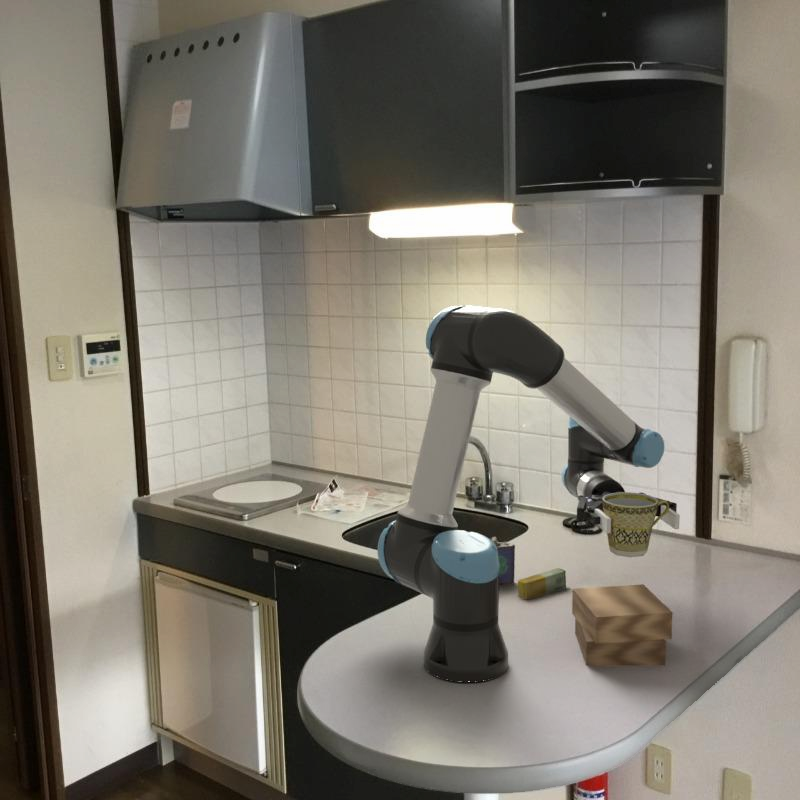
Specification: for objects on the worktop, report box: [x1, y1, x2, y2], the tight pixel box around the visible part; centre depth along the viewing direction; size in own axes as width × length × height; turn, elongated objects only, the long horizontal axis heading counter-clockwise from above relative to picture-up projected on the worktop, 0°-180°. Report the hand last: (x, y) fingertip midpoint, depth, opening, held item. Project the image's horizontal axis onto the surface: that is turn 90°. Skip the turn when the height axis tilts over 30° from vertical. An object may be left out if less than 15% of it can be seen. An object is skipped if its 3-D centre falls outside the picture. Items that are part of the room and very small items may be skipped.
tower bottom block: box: [574, 617, 667, 667], centre depth 181 cm, size 14×14×5 cm
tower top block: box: [571, 583, 674, 644], centre depth 180 cm, size 14×14×5 cm
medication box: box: [517, 567, 567, 601], centre depth 210 cm, size 12×3×4 cm, turn 125°
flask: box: [489, 536, 516, 586], centre depth 214 cm, size 9×3×11 cm, turn 109°
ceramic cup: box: [602, 491, 669, 558], centre depth 180 cm, size 13×10×10 cm
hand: (643, 524), depth 177 cm, fingers closed on ceramic cup, 12 cm apart
